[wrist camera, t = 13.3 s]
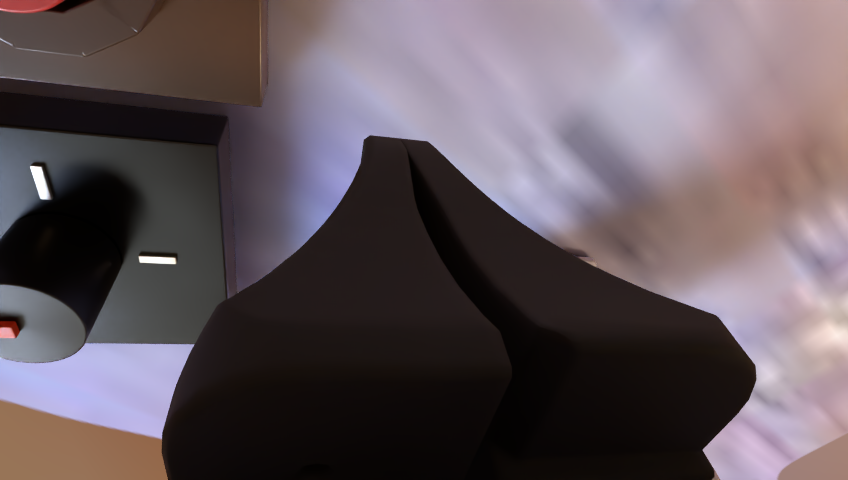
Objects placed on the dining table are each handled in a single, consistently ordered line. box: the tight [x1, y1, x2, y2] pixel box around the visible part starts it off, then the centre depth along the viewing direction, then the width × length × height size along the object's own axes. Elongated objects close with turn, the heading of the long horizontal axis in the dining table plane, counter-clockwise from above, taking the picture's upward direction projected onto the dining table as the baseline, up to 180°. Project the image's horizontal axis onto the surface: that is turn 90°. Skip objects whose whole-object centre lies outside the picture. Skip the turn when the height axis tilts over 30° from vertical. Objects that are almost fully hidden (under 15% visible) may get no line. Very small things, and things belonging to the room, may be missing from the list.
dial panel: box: [0, 92, 237, 344], centre depth 21 cm, size 11×12×3 cm
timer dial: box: [0, 214, 121, 363], centre depth 18 cm, size 4×4×4 cm
